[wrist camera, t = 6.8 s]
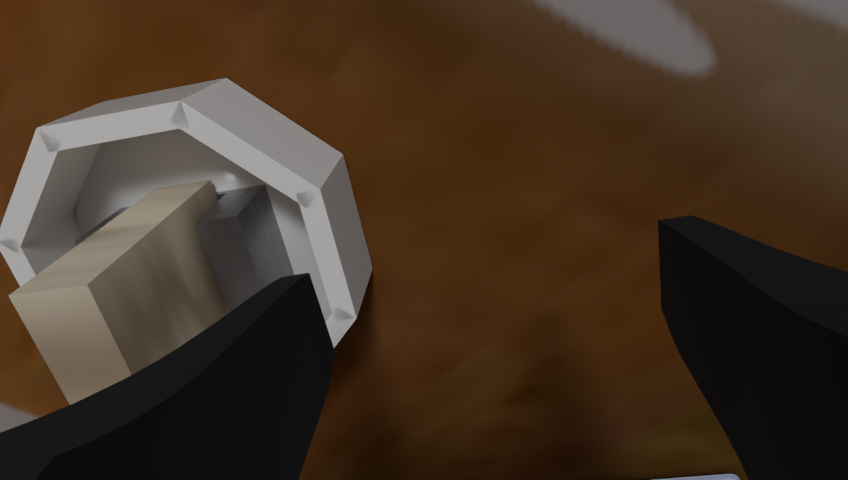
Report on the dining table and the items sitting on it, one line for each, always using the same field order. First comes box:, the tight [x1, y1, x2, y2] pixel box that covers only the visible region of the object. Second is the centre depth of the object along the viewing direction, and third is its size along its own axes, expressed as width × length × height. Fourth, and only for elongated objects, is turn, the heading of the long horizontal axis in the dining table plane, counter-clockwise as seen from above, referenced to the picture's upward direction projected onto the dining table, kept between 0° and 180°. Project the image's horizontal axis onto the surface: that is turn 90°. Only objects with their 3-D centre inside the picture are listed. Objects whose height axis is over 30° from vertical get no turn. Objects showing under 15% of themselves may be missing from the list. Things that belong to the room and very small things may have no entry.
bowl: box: [0, 78, 373, 348], centre depth 22 cm, size 12×12×4 cm
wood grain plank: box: [9, 180, 231, 405], centre depth 19 cm, size 5×2×8 cm, turn 11°
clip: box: [75, 184, 294, 311], centre depth 21 cm, size 4×6×3 cm
